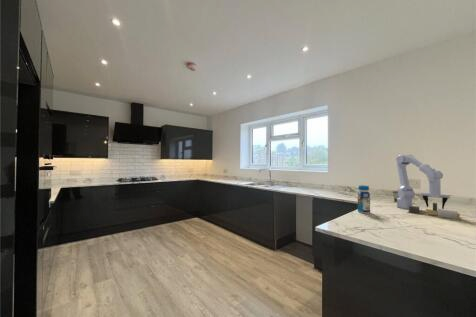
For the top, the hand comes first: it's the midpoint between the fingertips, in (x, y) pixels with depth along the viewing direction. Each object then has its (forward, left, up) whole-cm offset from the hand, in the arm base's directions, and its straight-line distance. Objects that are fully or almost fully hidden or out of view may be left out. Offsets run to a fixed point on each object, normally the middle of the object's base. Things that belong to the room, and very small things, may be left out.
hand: (435, 207), depth 141 cm
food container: (-27, +48, -7) cm, 56 cm away
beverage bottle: (-37, -22, -7) cm, 44 cm away
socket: (-10, 0, -5) cm, 12 cm away
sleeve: (+6, 0, -5) cm, 8 cm away
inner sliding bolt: (+3, 0, -5) cm, 6 cm away
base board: (-1, 0, -6) cm, 7 cm away
